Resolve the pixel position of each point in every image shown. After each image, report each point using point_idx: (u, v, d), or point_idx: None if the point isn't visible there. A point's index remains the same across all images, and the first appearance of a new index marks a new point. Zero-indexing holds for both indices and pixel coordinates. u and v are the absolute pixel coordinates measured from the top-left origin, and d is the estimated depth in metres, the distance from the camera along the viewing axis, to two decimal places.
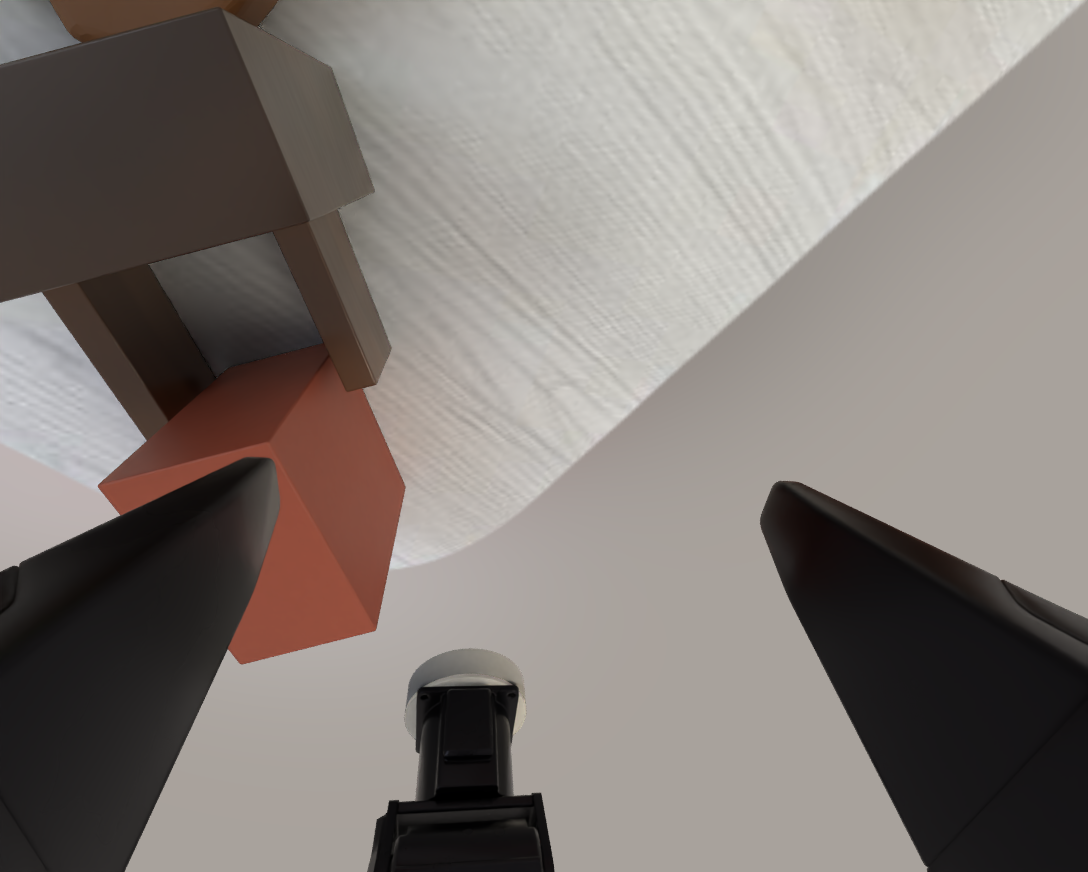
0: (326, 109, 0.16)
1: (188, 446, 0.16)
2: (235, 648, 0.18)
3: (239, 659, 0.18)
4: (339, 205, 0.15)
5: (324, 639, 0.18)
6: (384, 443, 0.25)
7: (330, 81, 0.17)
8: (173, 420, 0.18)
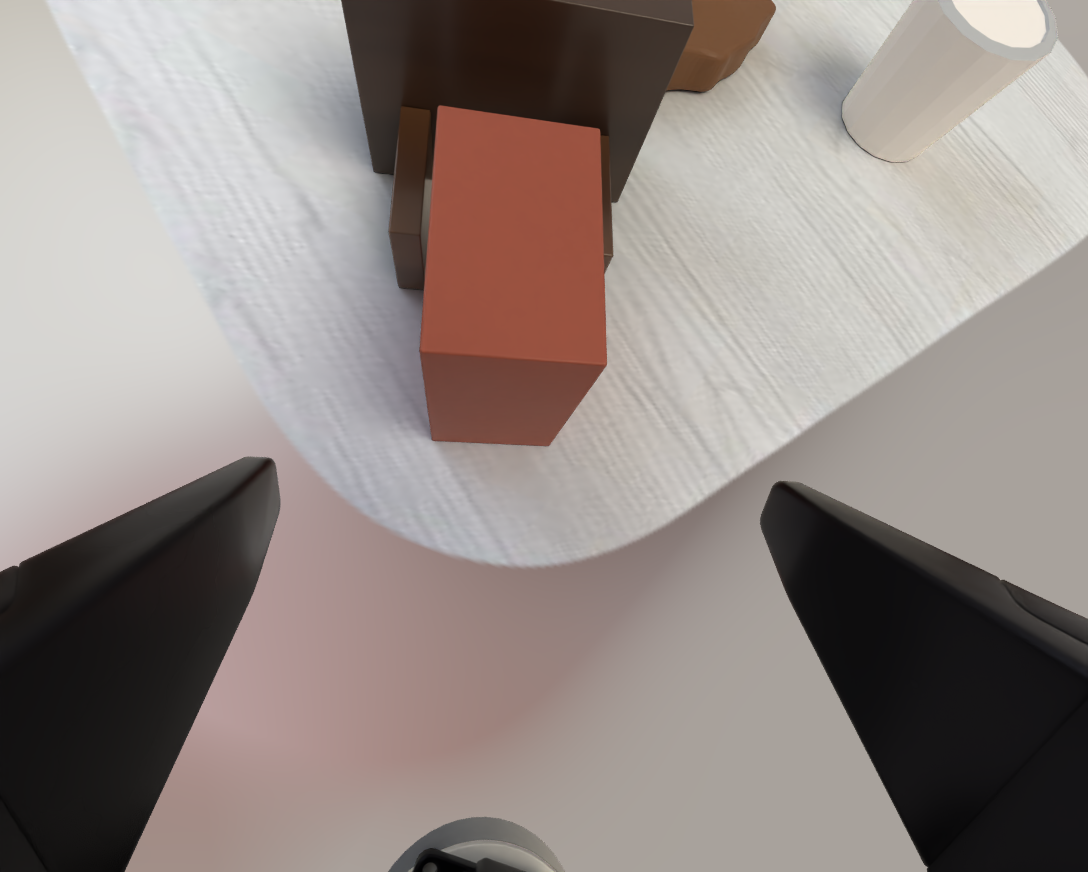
0: None
1: None
2: (432, 323, 0.14)
3: (425, 341, 0.14)
4: (661, 100, 0.21)
5: (542, 352, 0.14)
6: None
7: None
8: None
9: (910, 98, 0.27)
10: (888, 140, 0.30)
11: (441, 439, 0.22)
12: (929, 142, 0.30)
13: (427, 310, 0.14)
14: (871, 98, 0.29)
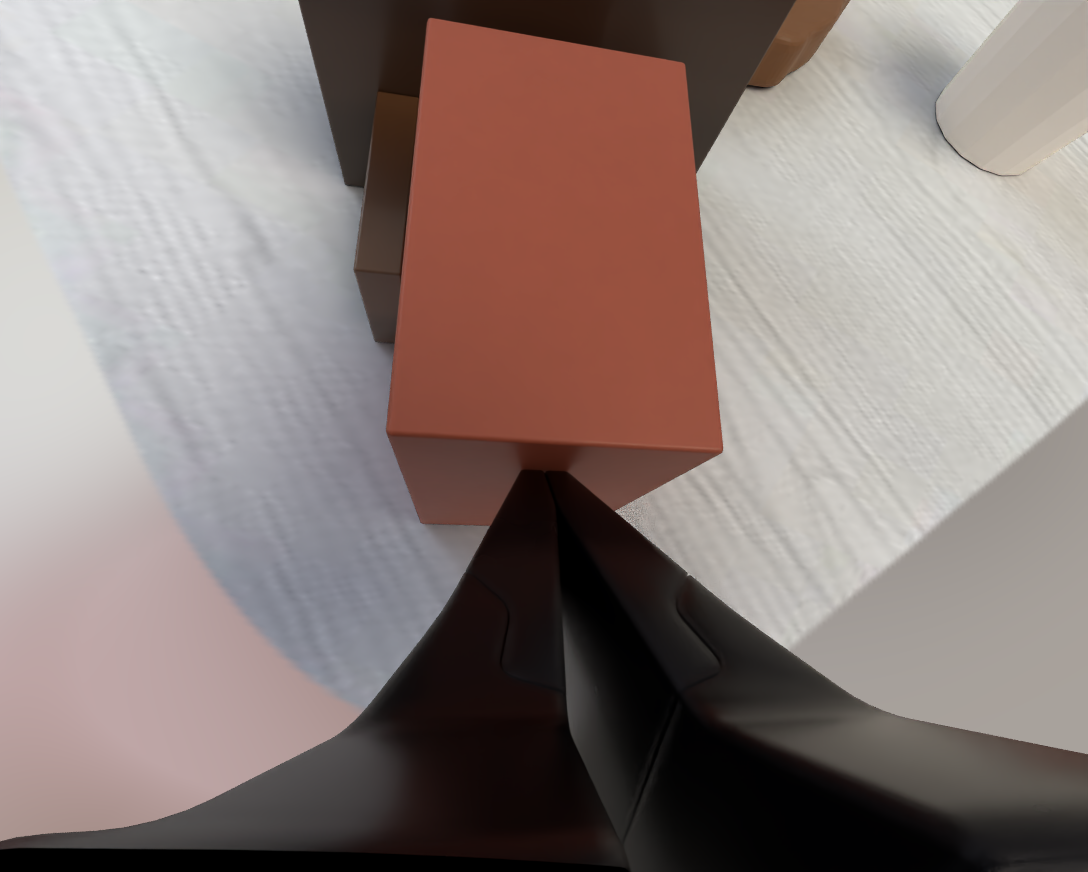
0: None
1: None
2: (410, 379, 0.07)
3: (396, 415, 0.07)
4: (747, 84, 0.15)
5: (609, 429, 0.08)
6: None
7: None
8: None
9: (1043, 93, 0.21)
10: (1003, 148, 0.23)
11: (433, 522, 0.15)
12: (1056, 150, 0.23)
13: (402, 356, 0.08)
14: (984, 95, 0.23)
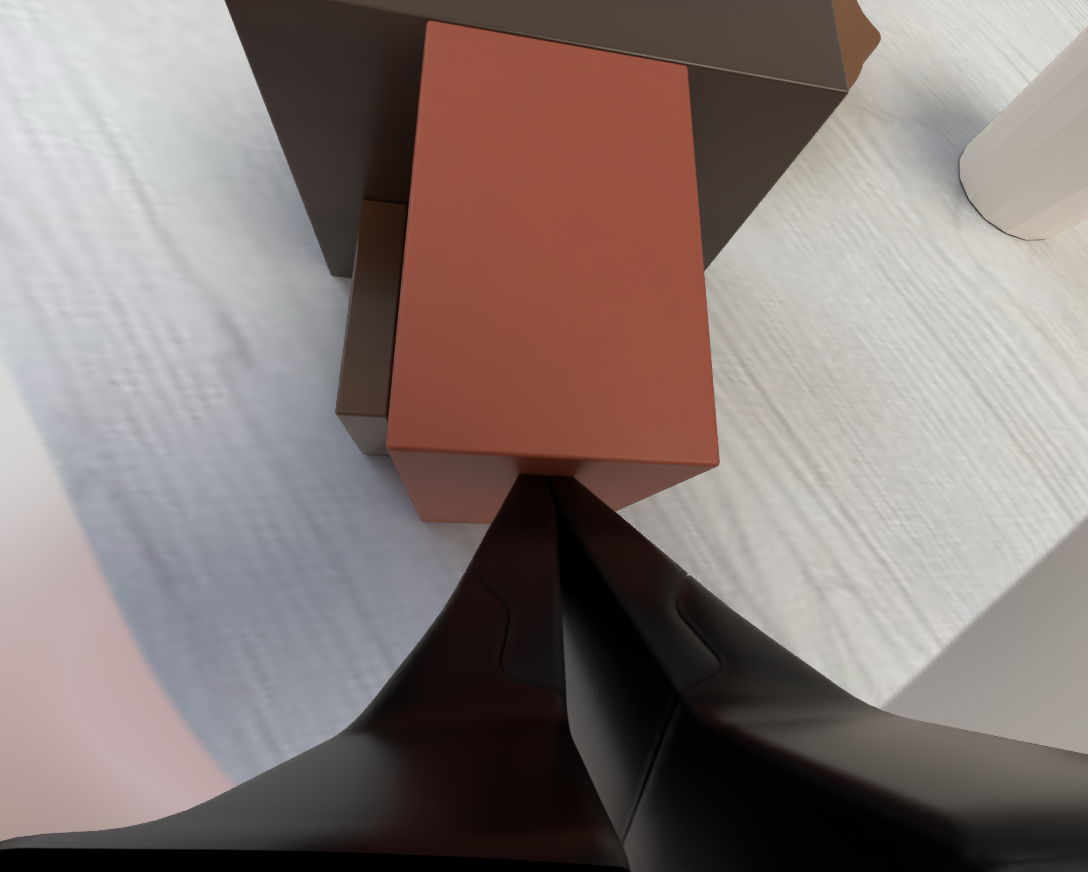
0: None
1: None
2: (410, 393, 0.08)
3: (396, 429, 0.07)
4: None
5: (607, 444, 0.08)
6: None
7: None
8: None
9: (1077, 165, 0.20)
10: (1031, 215, 0.22)
11: (434, 521, 0.16)
12: (1087, 218, 0.22)
13: (402, 370, 0.08)
14: (1013, 160, 0.21)
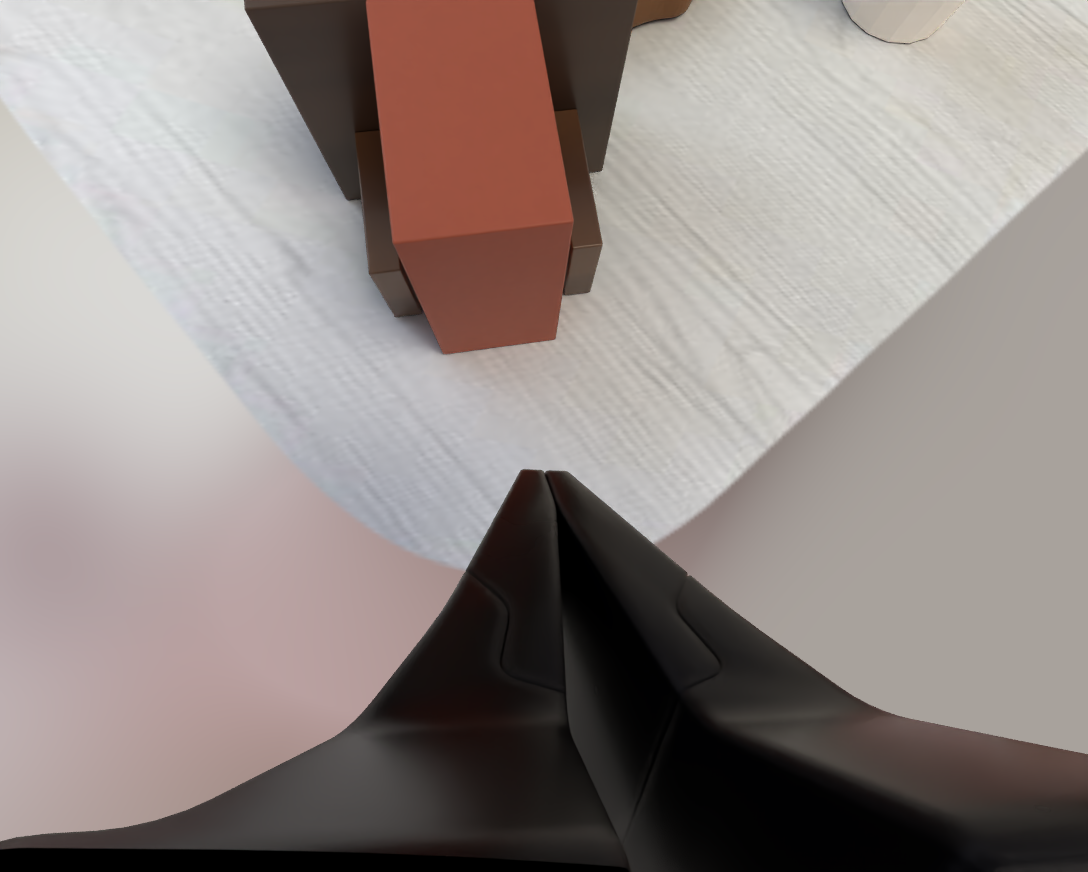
0: None
1: None
2: (399, 214, 0.14)
3: (396, 233, 0.14)
4: (625, 58, 0.19)
5: (507, 220, 0.14)
6: None
7: None
8: None
9: None
10: (901, 20, 0.26)
11: (451, 351, 0.23)
12: (952, 10, 0.25)
13: (392, 203, 0.14)
14: None
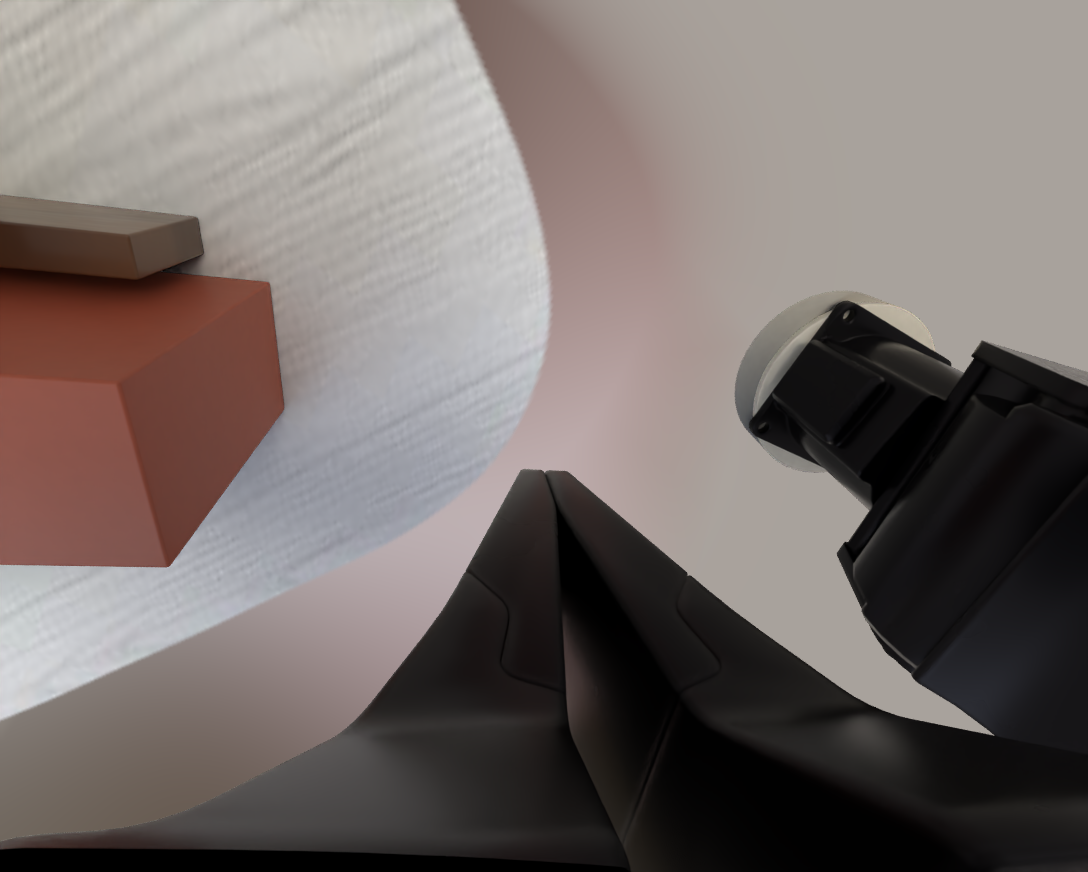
0: None
1: None
2: (129, 559, 0.13)
3: (155, 564, 0.13)
4: None
5: (126, 457, 0.11)
6: (178, 275, 0.18)
7: None
8: None
9: None
10: None
11: (281, 403, 0.20)
12: None
13: (114, 563, 0.13)
14: None
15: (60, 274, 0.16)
